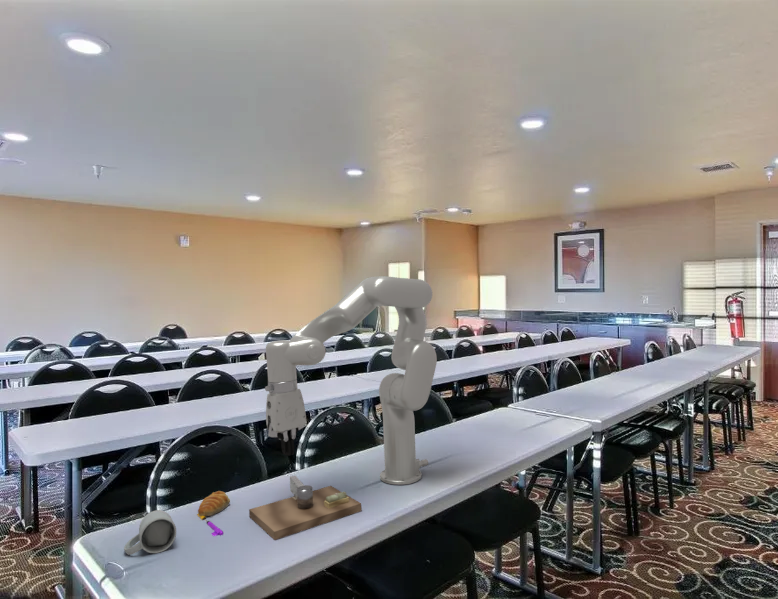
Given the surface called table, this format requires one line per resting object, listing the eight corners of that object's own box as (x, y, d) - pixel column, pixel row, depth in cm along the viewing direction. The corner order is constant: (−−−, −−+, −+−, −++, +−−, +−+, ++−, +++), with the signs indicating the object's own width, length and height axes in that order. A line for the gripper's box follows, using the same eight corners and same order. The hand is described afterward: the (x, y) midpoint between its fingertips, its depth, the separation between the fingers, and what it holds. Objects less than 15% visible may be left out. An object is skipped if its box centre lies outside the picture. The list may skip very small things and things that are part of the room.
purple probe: (224, 534, 124) (200, 514, 136) (223, 530, 124) (199, 510, 136) (214, 541, 122) (191, 520, 135) (212, 536, 122) (189, 516, 135)
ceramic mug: (172, 534, 125) (170, 502, 125) (177, 547, 118) (175, 514, 118) (123, 547, 120) (121, 514, 119) (126, 562, 113) (123, 528, 112)
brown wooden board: (330, 492, 147) (330, 475, 147) (361, 510, 134) (360, 492, 134) (249, 517, 133) (248, 498, 133) (274, 540, 120) (273, 519, 120)
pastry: (215, 518, 133) (214, 504, 133) (191, 518, 134) (190, 503, 134) (231, 503, 142) (231, 490, 142) (209, 503, 143) (208, 489, 143)
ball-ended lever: (315, 506, 132) (314, 489, 132) (300, 509, 131) (299, 492, 131) (300, 488, 145) (299, 473, 144) (286, 491, 143) (285, 476, 143)
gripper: (266, 394, 130) (272, 465, 131) (313, 382, 141) (319, 448, 142) (251, 391, 136) (256, 459, 136) (297, 380, 146) (302, 444, 147)
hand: (288, 453), depth 139 cm, fingers closed
